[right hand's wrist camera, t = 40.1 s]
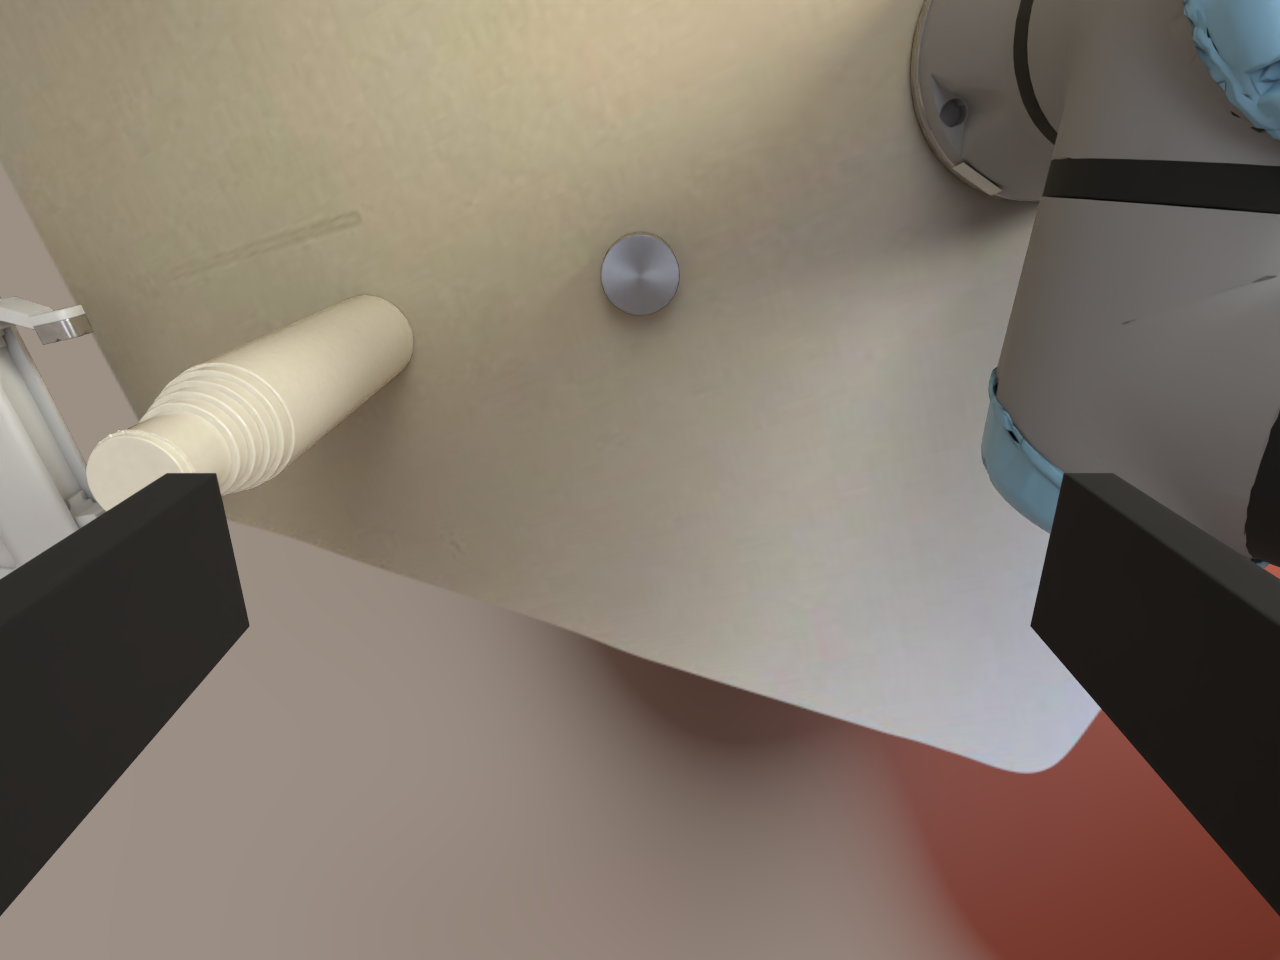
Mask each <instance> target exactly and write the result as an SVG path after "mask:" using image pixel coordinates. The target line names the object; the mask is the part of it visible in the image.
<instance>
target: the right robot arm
mask: <svg viewBox="0 0 1280 960" xmlns="http://www.w3.org/2000/svg"><path fill="white" fill-rule="evenodd" d="M911 88H912V97H913V102H914V107H915V112H916V115H917V118H918V121H919V124H920V127H921V129H922V132H923V134H924V136H925V138H926V140H927V142H928V144H929V146H930V147H931V149H932V151H933V152H934V153H935V155H936V156H937V158H938V159H939V160H940V161H941V162H942V164H943V165H944V166H945V167H946V168H947V169H948V170H949V171H950V172H951V173H952V174H954V175H955V176H956V177H957V178H958V179H960V180H961V181H963V182H964V183H966V184H967V185H969V186H971V187H972V188H974V189H976V190H978V191H981V192H983V193H986V194H988V195H990V196H995V197H999V198H1003V199H1009V200H1017V201H1035V202H1039V206H1038V210H1037V214H1036V218H1035V222H1034V226H1033V230H1032V234H1031V238H1030V242H1029V246H1028V249H1027V253H1026V257H1025V261H1024V265H1023V269H1022V273H1021V277H1020V281H1019V285H1018V289H1017V293H1016V296H1015V300H1014V304H1013V308H1012V312H1011V316H1010V320H1009V324H1008V328H1007V332H1006V336H1005V339H1004V343H1003V347H1002V351H1001V355H1000V359H999V363H998V367H996V368H995V369H994V370H993V371H992V374H991V377H990V380H989V389H988V390H989V397H990V405H989V410H988V414H987V419H986V424H985V429H984V434H983V439H982V446H981V449H982V461H983V464H984V466H985V468H986V470H987V471H988V474H989V477H990V481H991V482H992V484H993V486H994V487H995V489H996V490H997V491H998V492H999V493H1000V495H1001V496H1002V497H1003V498H1004V499H1005V500H1006V501H1007V502H1008V503H1009V504H1010V505H1011V506H1012V507H1013V508H1014V509H1016V510H1017V511H1018V512H1019V513H1020V514H1022V515H1023V516H1024V517H1025V518H1027V519H1028V520H1030V521H1031V522H1032V523H1034V524H1035V525H1037V526H1039V527H1040V528H1042V529H1043V530H1045V531H1046V532H1048V533H1050V539H1049V543H1048V548H1047V552H1046V557H1045V562H1044V566H1043V571H1042V575H1041V580H1040V585H1039V589H1038V594H1037V598H1036V603H1035V608H1034V612H1033V617H1032V621H1031V627H1032V628H1033V630H1034V631H1035V632H1036V633H1037V634H1038V635H1039V637H1040V638H1041V639H1042V640H1043V641H1044V642H1045V643H1046V645H1047V646H1048V647H1049V648H1050V649H1051V650H1052V652H1053V653H1054V654H1055V655H1056V656H1057V657H1058V659H1059V660H1060V661H1061V662H1062V663H1063V664H1064V666H1065V667H1066V668H1067V669H1068V670H1069V671H1070V673H1071V674H1072V675H1073V676H1074V677H1075V678H1076V680H1077V681H1078V682H1079V683H1080V684H1081V685H1082V687H1083V688H1084V689H1085V690H1086V691H1087V692H1088V694H1089V695H1090V696H1091V697H1092V698H1093V699H1094V701H1095V702H1096V703H1097V704H1098V705H1099V706H1100V708H1101V709H1102V710H1103V711H1104V712H1105V713H1106V714H1107V716H1108V717H1109V718H1110V719H1111V720H1112V721H1113V723H1114V724H1115V725H1116V726H1117V727H1118V728H1119V730H1120V731H1121V732H1122V733H1123V734H1124V735H1125V737H1126V738H1127V739H1128V740H1129V741H1130V742H1131V744H1132V745H1133V746H1134V747H1135V748H1136V749H1137V751H1138V752H1139V753H1140V754H1141V755H1142V756H1143V757H1144V759H1145V760H1146V761H1147V762H1148V763H1149V765H1150V766H1151V767H1152V768H1153V769H1154V770H1155V772H1156V773H1157V774H1158V775H1159V776H1160V777H1161V779H1162V780H1163V781H1164V782H1165V783H1166V784H1167V785H1168V787H1169V788H1170V789H1171V790H1172V791H1173V792H1174V794H1175V795H1176V796H1177V797H1178V798H1179V799H1180V801H1181V802H1182V803H1183V804H1184V805H1185V806H1186V808H1187V809H1188V810H1189V811H1190V812H1191V813H1192V815H1193V816H1194V817H1195V818H1196V819H1197V820H1198V822H1199V823H1200V824H1201V825H1202V826H1203V827H1204V829H1205V830H1206V831H1207V832H1208V833H1209V834H1210V836H1211V837H1212V838H1213V839H1214V840H1215V841H1216V842H1217V844H1218V845H1219V846H1220V847H1221V848H1222V850H1223V851H1224V852H1225V853H1226V854H1227V855H1228V857H1229V858H1230V859H1231V860H1232V861H1233V862H1234V864H1235V865H1236V866H1237V867H1238V868H1239V869H1240V871H1241V872H1242V873H1243V874H1244V875H1245V876H1246V877H1247V879H1248V880H1249V881H1250V882H1251V883H1252V884H1253V886H1254V887H1255V888H1256V889H1257V890H1258V891H1259V893H1260V894H1261V895H1262V896H1263V897H1264V898H1265V900H1266V901H1267V902H1268V903H1269V904H1270V905H1271V907H1272V908H1273V909H1274V910H1275V911H1276V912H1277V914H1278V915H1279V916H1280V579H1279V578H1277V577H1275V576H1274V575H1272V574H1271V573H1269V572H1267V571H1266V570H1264V568H1265V567H1267V566H1268V565H1269V564H1272V565H1275V566H1278V567H1280V0H925V2H924V5H923V7H922V10H921V13H920V17H919V20H918V23H917V27H916V31H915V36H914V41H913V48H912V55H911ZM248 627H249V621H248V617H247V612H246V608H245V603H244V598H243V594H242V589H241V585H240V580H239V575H238V571H237V566H236V562H235V557H234V553H233V548H232V543H231V539H230V534H229V529H228V525H227V520H226V516H225V511H224V506H223V502H222V497H221V493H220V488H219V483H218V479H217V474H216V473H166V474H165V475H163V476H161V477H160V478H158V479H157V480H155V481H154V482H152V483H150V484H149V485H147V486H146V487H144V488H143V489H141V490H139V491H138V492H136V493H135V494H133V495H132V496H130V497H129V498H127V499H125V500H124V501H122V502H121V503H119V504H118V505H116V506H114V507H113V508H111V509H110V510H108V511H107V512H105V513H103V514H102V515H100V516H99V517H97V518H96V519H94V520H92V521H91V522H89V523H88V524H86V525H85V526H83V527H81V528H80V529H78V530H77V531H75V532H74V533H72V534H70V535H69V536H67V537H66V538H64V539H63V540H61V541H59V542H58V543H56V544H55V545H53V546H52V547H50V548H49V549H47V550H45V551H44V552H42V553H41V554H39V555H38V556H36V557H34V558H33V559H31V560H30V561H28V562H27V563H25V564H23V565H22V566H20V567H19V568H17V569H16V570H14V571H12V572H11V573H9V574H8V575H6V576H5V577H3V578H1V579H0V916H1V915H2V914H3V912H4V911H5V910H6V909H7V908H8V907H9V905H10V904H11V903H12V902H13V901H14V900H15V898H16V897H17V896H18V895H19V894H20V893H21V891H22V890H23V889H24V888H25V887H26V886H27V884H28V883H29V882H30V881H31V880H32V879H33V877H34V876H35V875H36V874H37V873H38V872H39V871H40V869H41V868H42V867H43V866H44V865H45V864H46V862H47V861H48V860H49V859H50V858H51V857H52V855H53V854H54V853H55V852H56V851H57V850H58V848H59V847H60V846H61V845H62V844H63V843H64V841H65V840H66V839H67V838H68V837H69V836H70V834H71V833H72V832H73V831H74V830H75V829H76V827H77V826H78V825H79V824H80V823H81V822H82V820H83V819H84V818H85V817H86V816H87V815H88V813H89V812H90V811H91V810H92V809H93V808H94V806H95V805H96V804H97V803H98V802H99V801H100V799H101V798H102V797H103V796H104V795H105V794H106V792H107V791H108V790H109V789H110V788H111V787H112V785H113V784H114V783H115V782H116V781H117V780H118V779H119V777H120V776H121V775H122V774H123V773H124V772H125V770H126V769H127V768H128V767H129V766H130V764H131V763H132V762H133V761H134V760H135V759H136V758H137V756H138V755H139V754H140V753H141V752H142V751H143V749H144V748H145V747H146V746H147V745H148V744H149V742H150V741H151V740H152V739H153V738H154V737H155V735H156V734H157V733H158V732H159V731H160V730H161V728H162V727H163V726H164V725H165V724H166V723H167V721H168V720H169V719H170V718H171V717H172V716H173V715H174V713H175V712H176V711H177V710H178V709H179V708H180V706H181V705H182V704H183V703H184V702H185V700H186V699H187V698H188V697H189V696H190V695H191V693H192V692H193V691H194V690H195V689H196V688H197V687H198V685H199V684H200V683H201V682H202V681H203V680H204V678H205V677H206V676H207V675H208V674H209V673H210V671H211V670H212V669H213V668H214V667H215V666H216V664H217V663H218V662H219V661H220V660H221V659H222V657H223V656H224V655H225V654H226V653H227V652H228V650H229V649H230V648H231V647H232V646H233V645H234V643H235V642H236V641H237V640H238V639H239V638H240V636H241V635H242V634H243V633H244V632H245V631H246V629H247V628H248Z"/></svg>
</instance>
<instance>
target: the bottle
mask: <svg viewBox="0 0 1280 960" xmlns="http://www.w3.org/2000/svg"><path fill="white" fill-rule="evenodd" d="M413 346H414V340H413V334H412V330H411V327H410V325H409V323H408V321H407V319H406V318H405V316H404V315H403V314H402V312H401V311H400V310H399V309H398V308H397V307H395V306H394V305H393V304H391V303H390V302H388V301H386V300H384V299H382V298H379V297H376V296H370V295H361V296H355V297H352V298H349V299H347V300H344V301H342V302H340V303H338V304H335V305H333V306H331V307H328V308H326V309H324V310H321V311H319V312H317V313H315V314H312V315H310V316H308V317H305V318H303V319H301V320H299V321H296V322H294V323H292V324H289V325H287V326H285V327H283V328H280V329H278V330H276V331H273V332H271V333H269V334H267V335H264V336H262V337H260V338H257V339H255V340H253V341H250V342H248V343H246V344H244V345H241V346H239V347H237V348H234V349H232V350H230V351H228V352H225V353H223V354H221V355H218V356H216V357H214V358H212V359H209V360H207V361H205V362H202V363H200V364H198V365H196V366H193V367H191V368H189V369H187V370H185V371H184V372H182V373H181V374H180V375H178V376H177V377H176V378H175V379H173V380H172V381H171V382H169V383H168V384H167V385H166V386H165V388H164V389H163V390H162V391H161V393H160V395H159V396H158V397H157V398H156V399H155V401H154V402H153V404H152V405H151V406H150V407H149V409H148V410H147V412H146V413H145V414H144V416H143V417H142V418H141V419H140V421H139V423H138V424H137V425H135V426H133V427H131V428H129V429H127V430H122V431H120V430H118V431H116V432H115V433H112V434H110V435H108V436H107V437H105V438H104V439H102V440H101V441H100V442H99V443H98V444H97V445H96V447H95V448H94V450H93V451H92V452H91V454H90V456H89V459H88V461H87V466H86V478H87V483H88V486H89V489H90V491H91V493H92V495H93V497H94V498H95V500H96V501H97V503H98V504H99V505H100V506H101V507H102V508H103V509H104V510H105V511H106V512H107V511H108V510H110V509H111V508H113V507H114V506H116V505H118V504H119V503H121V502H122V501H124V500H125V499H127V498H129V497H130V496H132V495H133V494H135V493H136V492H138V491H139V490H141V489H143V488H144V487H146V486H147V485H149V484H150V483H152V482H154V481H155V480H157V479H158V478H160V477H161V476H163V475H165V474H166V473H216V474H217V479H218V483H219V488H220V493H221V496H224V495H227V494H233V493H237V492H241V491H246V490H250V489H252V488H255V487H257V486H259V485H261V484H263V483H265V482H267V481H269V480H271V479H273V478H274V477H276V476H277V475H278V474H280V473H281V472H282V471H283V470H284V469H285V468H287V467H288V466H289V465H290V464H291V463H293V462H294V461H295V460H296V459H297V458H299V457H300V456H301V455H302V454H303V453H305V452H306V451H307V450H308V449H309V448H311V447H312V446H313V445H314V444H315V443H317V442H318V441H319V440H320V439H321V438H322V437H324V436H325V435H326V434H327V433H328V432H330V431H331V430H332V429H333V428H334V427H336V426H337V425H338V424H339V423H340V422H342V421H343V420H344V419H345V418H346V417H348V416H349V415H350V414H351V413H352V412H353V411H355V410H356V409H357V408H358V407H359V406H361V405H362V404H363V403H364V402H365V401H367V400H368V399H369V398H370V397H371V396H373V395H374V394H375V393H376V392H377V391H379V390H380V389H381V388H382V387H383V386H385V385H386V384H387V383H388V382H389V381H390V380H392V379H393V378H394V377H395V376H396V375H398V374H399V373H400V372H401V371H402V370H403V369H404V368H405V367H406V366H407V364H408V363H409V361H410V359H411V356H412V353H413Z"/></svg>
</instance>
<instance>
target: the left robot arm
mask: <svg viewBox="0 0 1280 960" xmlns="http://www.w3.org/2000/svg"><path fill="white" fill-rule="evenodd" d="M15 325H19V326H23V327H26V328H30V329H35V331H36V333H37V334H38V336H39V338H40V340H41V342H42V344H43V345H45V344H49V343H54V342H58V341H61V340H67V339H72V338H76V337H79V336H83V335H84V334H89V333H92V332H94V331H93V329H92V327H91V325H90V322H89V320H88V318H87V316H86V314H85V312H84V310H83V308H82V306H81V305H76V306H72V307H67V308H63V309H58V310H54V311H53V309H52V308H50V307H47V306H43V305H41V304H38V303H34V302H31V301H28V300H25V299H22V298H19V297H16V296H14V297H9V298H4V299H1V298H0V579H1V578H3V577H5V576H6V575H8V574H9V573H11V572H12V571H14V570H16V569H17V568H19V567H20V566H22V565H23V564H25V563H27V562H28V561H30V560H31V559H33V558H34V557H36V556H38V555H39V554H41V553H42V552H44V551H45V550H47V549H49V548H50V547H52V546H53V545H55V544H56V543H58V542H59V541H61V540H63V539H64V538H66V537H67V536H69V535H70V534H72V533H74V532H75V531H77V530H78V529H80V528H81V527H83V526H85V525H86V524H88V523H89V522H91V521H92V520H94V519H96V518H97V517H99V516H100V515H102V514H103V513H105V512H106V511H105V510H104V509H103V508H102V507H101V506H100V505H99V504H98V503H97V501H96V500H95V498H94V497H93V495H92V493H91V491H90V489H89V486H88V483H87V478H86V466H87V464H86V462H85V460H84V458H83V457H82V455H81V453H80V451H79V449H78V447H77V445H76V443H75V441H74V439H73V437H72V435H71V433H70V431H69V429H68V427H67V425H66V424H65V422H64V420H63V418H62V416H61V414H60V412H59V410H58V408H57V406H56V404H55V402H54V400H53V398H52V396H51V395H50V393H49V391H48V389H47V387H46V385H45V383H44V381H43V379H42V377H41V375H40V373H39V371H38V369H37V367H36V365H35V363H34V362H33V360H32V358H31V356H30V354H29V352H28V350H27V348H26V346H25V344H24V342H23V340H22V338H21V336H20V334H19V332H18V330H17V329H16V327H15Z"/></svg>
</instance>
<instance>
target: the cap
mask: <svg viewBox="0 0 1280 960" xmlns="http://www.w3.org/2000/svg"><path fill="white" fill-rule="evenodd" d="M601 282H602V286H603V289H604V292H605V294H606V296H607V297H608V299H609V300H610V301H611V302H612V304H613V305H615V306H616V307H617V308H618V309H620V310H622V311H624V312H626V313H629V314H633V315H648V314H652V313H655V312H657V311H659V310H660V309H662V308H663V307H665V306H666V305H667V304H668V303H669V302H670V301H671V299H672V298H673V296H674V295H675V292H676V290H677V287H678V283H679V266H678V263H677V260H676V257H675V255H674V253H673V251H672V249H671V248H670V246H669V245H668V244H667V243H666V242H665V241H664V240H662V239H661V238H660V237H658V236H656V235H654V234H651V233H646V232H634V233H630V234H627V235H624V236H623V237H621V238H619V239H618V240H617V241H615V242H614V243H613V244H612V246H611V247H610V248H609V250H608V251H607V253H606V256H605V258H604V261H603V264H602V268H601Z"/></svg>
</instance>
